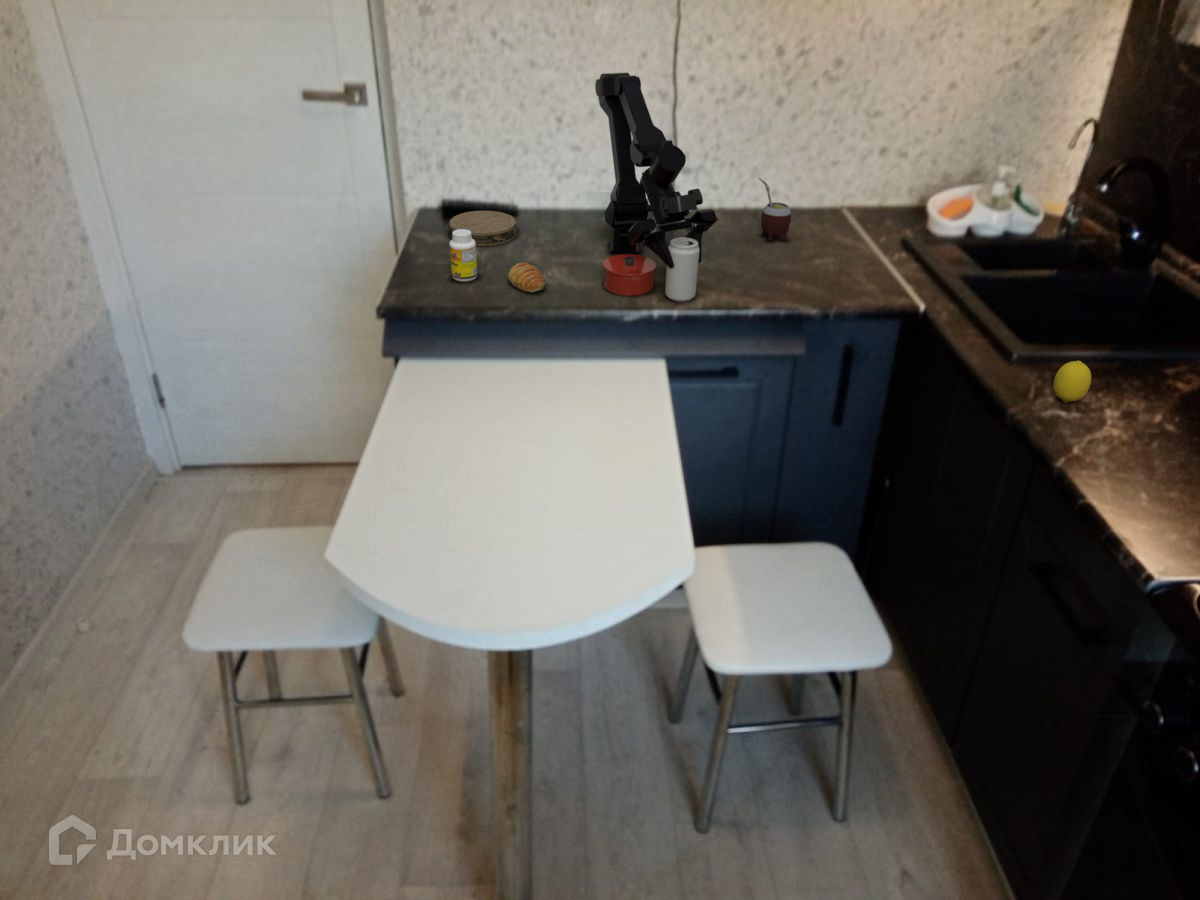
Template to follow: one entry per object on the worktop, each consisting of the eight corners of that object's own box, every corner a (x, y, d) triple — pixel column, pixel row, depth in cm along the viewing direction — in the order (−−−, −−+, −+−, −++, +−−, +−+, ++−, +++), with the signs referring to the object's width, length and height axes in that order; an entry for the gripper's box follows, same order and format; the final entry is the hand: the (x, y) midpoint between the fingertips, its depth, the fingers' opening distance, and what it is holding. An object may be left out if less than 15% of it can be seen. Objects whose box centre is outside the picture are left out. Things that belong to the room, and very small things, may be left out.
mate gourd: (792, 236, 223) (801, 175, 214) (779, 246, 217) (788, 183, 209) (764, 230, 226) (771, 169, 218) (750, 239, 220) (758, 177, 212)
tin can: (480, 217, 229) (480, 206, 228) (529, 232, 222) (529, 220, 220) (436, 235, 218) (435, 223, 217) (485, 250, 211) (485, 238, 209)
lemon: (1041, 394, 160) (1055, 353, 155) (1072, 393, 160) (1086, 353, 156) (1057, 410, 155) (1072, 369, 150) (1088, 410, 155) (1104, 368, 151)
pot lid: (597, 260, 197) (597, 251, 196) (646, 256, 199) (647, 247, 198) (610, 280, 188) (611, 270, 187) (662, 276, 190) (663, 266, 189)
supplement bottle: (448, 274, 199) (445, 229, 193) (473, 271, 201) (470, 226, 195) (456, 284, 194) (452, 238, 189) (481, 280, 196) (478, 234, 191)
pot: (599, 278, 199) (599, 258, 196) (644, 274, 201) (645, 255, 199) (611, 297, 190) (612, 277, 188) (659, 293, 193) (660, 273, 190)
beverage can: (693, 304, 187) (698, 249, 181) (662, 301, 188) (666, 246, 182) (696, 292, 193) (701, 237, 186) (666, 288, 193) (670, 234, 187)
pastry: (553, 290, 193) (553, 273, 191) (524, 297, 190) (524, 280, 188) (532, 275, 199) (532, 258, 197) (504, 281, 196) (504, 264, 194)
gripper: (637, 181, 176) (662, 255, 174) (717, 169, 183) (743, 240, 182) (616, 208, 186) (640, 278, 184) (693, 196, 193) (717, 263, 192)
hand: (686, 264), depth 185 cm, fingers closed on beverage can, 6 cm apart
